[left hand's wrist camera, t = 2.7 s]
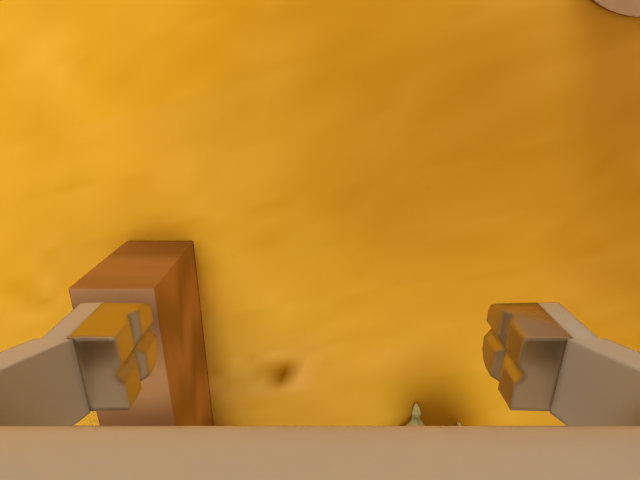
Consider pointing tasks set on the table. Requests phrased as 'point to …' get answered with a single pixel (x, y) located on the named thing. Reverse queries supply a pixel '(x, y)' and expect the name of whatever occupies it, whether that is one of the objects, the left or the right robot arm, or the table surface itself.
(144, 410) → the bar
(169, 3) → the table surface
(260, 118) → the table surface
